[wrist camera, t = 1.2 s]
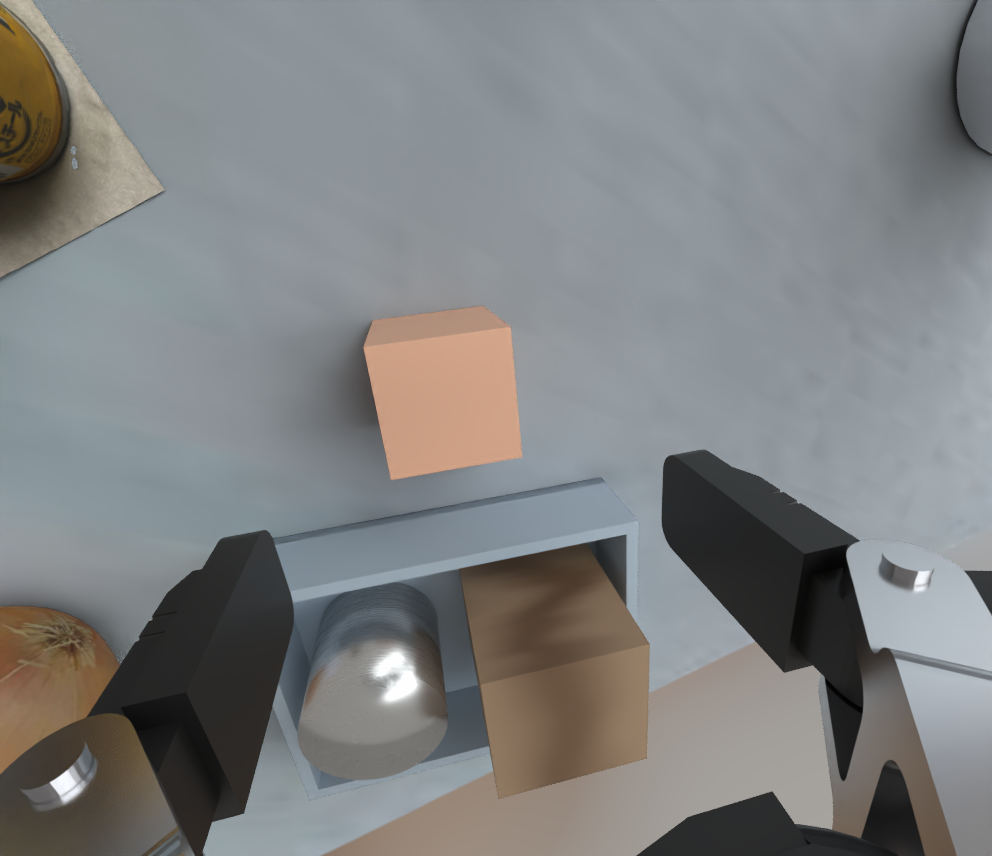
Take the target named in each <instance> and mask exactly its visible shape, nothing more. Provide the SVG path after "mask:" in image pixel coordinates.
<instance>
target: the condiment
mask: <svg viewBox="0 0 992 856" xmlns="http://www.w3.org/2000/svg"><path fill="white" fill-rule="evenodd" d="M74 145H75V147H76V148H77V151H76V155H73V154H72V153H71V152H70V149H71V147H72V146H74ZM73 157H74V158H76V159H77V161H78V168H77V169H73V167H72V159H73ZM162 191H164V188H163V187H162V185H161V184H160V182H159V181H158V179H157V178H156V177H155V175H154V174H153V173H152V172H151V170H150V169H149V167H148V166H147V165H146V163H145V162H144V160H143V159H142V157H141V155H140V154H139V152H138V151H137V150H136V148H135V147H134V145H133V144H132V143H131V142H130V140H129V139H128V138H127V136H126V135H125V134H124V132H123V131H122V129H121V127H120V126H119V125H118V123H117V122H116V121H115V119H114V118H113V116H112V115H111V113H110V112H109V110H108V109H107V108H106V106H105V105H104V104H103V102H102V101H101V99H100V98H99V96H98V94H97V93H96V92H95V90H94V89H93V88H92V86H91V85H90V83H89V82H88V80H87V79H86V77H85V76H84V74H83V73H82V71H81V70H80V68H79V67H78V65H77V64H76V63H75V61H74V60H73V58H72V57H71V55H70V54H69V52H68V51H67V49H66V48H65V47H64V45H63V44H62V42H61V41H60V40H59V38H58V37H57V35H56V34H55V33H54V31H53V30H52V28H51V27H50V26H49V24H48V23H47V21H46V20H45V18H44V17H43V15H42V14H41V13H40V11H39V10H38V8H37V7H36V6H35V4H34V3H33V1H32V0H0V277H2V276H4V275H6V274H8V273H10V272H11V271H14V270H16V269H19V268H21V267H22V266H24V265H26V264H28V263H30V262H32V261H34V260H36V259H38V258H40V257H41V256H43V255H45V254H47V253H48V252H50V251H53V250H55V249H57V248H59V247H61V246H63V245H64V244H66V243H68V242H70V241H72V240H74V239H75V238H77V237H79V236H81V235H83V234H85V233H87V232H88V231H90V230H93V229H94V228H96V227H99V226H100V225H102V224H103V223H105V222H107V221H108V220H110V219H112V218H114V217H116V216H118V215H119V214H121V213H123V212H125V211H127V210H129V209H131V208H133V207H135V206H137V205H138V204H140V203H142V202H143V201H145V200H147V199H149V198H151V197H153V196H154V195H156V194H158V193H160V192H162Z"/></svg>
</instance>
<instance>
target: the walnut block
mask: <svg viewBox="0 0 992 856" xmlns="http://www.w3.org/2000/svg"><path fill="white" fill-rule="evenodd" d="M459 573H460V579H461V585H462V592H463V598H464V604H465V610H466V617H467V623H468V629H469V635H470V641H471V648H472V654H473V660H474V665H475V671H476V676H477V682H478V687H479V693H480V699H481V704H482V710H483V715H484V721H485V726H486V732H487V738H488V743H489V749H490V754H491V760H492V765H493V771H494V776H495V782H496V788H497V793H498V798H499V799H500V798H504V797H507V796H511V795H514V794H518V793H522V792H526V791H529V790H533V789H537V788H540V787H544V786H548V785H551V784H555V783H558V782H562V781H566V780H570V779H573V778H576V777H580V776H584V775H588V774H591V773H595V772H599V771H602V770H606V769H609V768H613V767H617V766H621V765H624V764H628V763H632V762H635V761H639V760H643V759H646V758H647V728H648V689H649V649H650V644H649V642H648V641H647V639H646V638H645V636H644V634H643V633H642V631H641V630H640V628H639V626H638V625H637V623H636V622H635V620H634V618H633V617H632V615H631V614H630V612H629V610H628V609H627V607H626V606H625V604H624V602H623V601H622V599H621V598H620V596H619V594H618V593H617V591H616V590H615V588H614V586H613V585H612V583H611V582H610V580H609V578H608V577H607V575H606V574H605V572H604V570H603V569H602V567H601V566H600V564H599V562H598V561H597V559H596V558H595V556H594V554H593V553H592V551H591V550H590V548H589V546H588V545H587V543H582V544H577V545H572V546H567V547H562V548H557V549H552V550H547V551H543V552H538V553H533V554H528V555H523V556H518V557H513V558H508V559H504V560H499V561H494V562H489V563H484V564H479V565H474V566H469V567H464V568H460V569H459Z"/></svg>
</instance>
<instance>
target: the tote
mask: <svg viewBox="0 0 992 856" xmlns="http://www.w3.org/2000/svg"><path fill="white" fill-rule="evenodd" d="M638 539H639V521H638V520H637V518H636V517H635V516H634V515H633V514H632V513H631V511H630V510H629V509H628V508H627V507H626V506H625V504H624V503H623V502H622V501H621V500H620V499H619V498H618V496H617V495H616V494H615V493H614V492H613V491H612V489H611V488H610V487H609V486H608V485H607V484H606V482H605V481H604V480H603V479H602V478H597V479H591V480H586V481H580V482H575V483H570V484H564V485H559V486H554V487H548V488H543V489H538V490H532V491H527V492H522V493H516V494H511V495H506V496H500V497H495V498H489V499H484V500H479V501H473V502H468V503H463V504H457V505H452V506H447V507H441V508H436V509H431V510H425V511H420V512H414V513H409V514H404V515H398V516H393V517H388V518H382V519H377V520H372V521H366V522H361V523H356V524H350V525H345V526H339V527H334V528H329V529H323V530H318V531H313V532H307V533H302V534H297V535H291V536H286V537H281V538H275V539H273V541H274V544H275V547H276V550H277V553H278V556H279V559H280V562H281V565H282V568H283V571H284V574H285V577H286V580H287V583H288V587H289V590H290V593H291V596H292V600H293V607H294V625H293V630H292V634H291V638H290V642H289V646H288V649H287V653H286V657H285V661H284V664H283V668H282V672H281V676H280V680H279V683H278V687H277V691H276V695H275V698H274V702H273V709H274V711H275V714H276V717H277V719H278V722H279V724H280V727H281V729H282V732H283V734H284V737H285V739H286V742H287V745H288V747H289V750H290V752H291V755H292V757H293V760H294V762H295V765H296V767H297V770H298V772H299V775H300V778H301V780H302V783H303V785H304V788H305V790H306V793H307V795H308V798H309V800H313V799H317V798H321V797H325V796H329V795H332V794H336V793H340V792H344V791H348V790H352V789H355V788H359V787H363V786H367V785H371V784H375V783H379V782H382V781H386V780H390V779H394V778H398V777H402V776H405V775H409V774H413V773H417V772H421V771H425V770H429V769H432V768H436V767H440V766H444V765H448V764H452V763H455V762H459V761H463V760H467V759H471V758H475V757H479V756H482V755H486V754H490V749H489V743H488V738H487V732H486V726H485V721H484V715H483V710H482V704H481V699H480V693H479V687H478V682H477V676H476V671H475V665H474V660H473V654H472V648H471V641H470V635H469V629H468V623H467V617H466V610H465V604H464V598H463V592H462V585H461V579H460V573H459V569H460V568H464V567H469V566H474V565H479V564H484V563H489V562H494V561H499V560H504V559H508V558H513V557H518V556H523V555H528V554H533V553H538V552H543V551H547V550H552V549H557V548H562V547H567V546H572V545H577V544H582V543H587V545H588V546H589V548H590V550H591V551H592V553H593V554H594V556H595V558H596V559H597V561H598V562H599V564H600V566H601V567H602V569H603V570H604V572H605V574H606V575H607V577H608V578H609V580H610V582H611V583H612V585H613V586H614V588H615V590H616V591H617V593H618V594H619V596H620V598H621V599H622V601H623V602H624V604H625V606H626V607H627V609H628V610H629V612H630V614H631V615H632V617H633V618H634V620H635V622H636V623H638ZM391 582H399V583H403V584H407V585H409V586H411V587H414V588H416V589H417V590H419V591H421V592H422V593H423V594H424V595H426V597H427V598H428V599H429V600H430V601H431V603H432V604H433V606H434V608H435V610H436V613H437V617H438V627H439V636H440V646H441V655H442V665H443V675H444V684H445V694H446V703H447V713H448V725H447V729H446V732H445V735H444V737H443V739H442V741H441V742H440V744H439V745H438V747H437V748H436V749H435V750H434V751H433V752H432V753H431V754H430V755H429V756H428V757H427V758H426V759H424V760H423V761H422V762H420V763H419V764H417V765H415V766H414V767H412V768H410V769H408V770H406V771H404V772H401V773H399V774H396V775H392V776H389V777H385V778H380V779H372V780H350V779H343V778H339V777H335V776H332V775H329V774H327V773H325V772H323V771H321V770H319V769H317V768H316V767H315V766H313V765H312V764H311V763H310V762H309V761H308V760H307V759H306V758H305V756H304V755H303V753H302V751H301V749H300V747H299V743H298V736H297V733H298V726H299V721H300V716H301V711H302V706H303V702H304V697H305V692H306V687H307V682H308V677H309V673H310V668H311V663H312V658H313V653H314V649H315V644H316V639H317V634H318V629H319V624H320V621H321V618H322V615H323V613H324V611H325V610H326V608H327V607H328V605H329V604H330V603H331V602H332V601H333V600H334V599H335V598H336V597H338V596H339V595H340V594H342V593H343V592H347V591H352V590H357V589H362V588H367V587H372V586H377V585H382V584H386V583H391Z"/></svg>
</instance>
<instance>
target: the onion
mask: <svg viewBox="0 0 992 856" xmlns="http://www.w3.org/2000/svg"><path fill="white" fill-rule="evenodd" d="M119 666H120V665H119V663H118V661H117V659H116V657H115V655H114V653H113V652H112V650H111V649H110V647H109V646H108V645H107V643H106V642H105V641H104V639H103V638H102V637H101V636H100V635H99V634H98V633H97V632H96V631H95V630H94V629H93V628H91V627H90V626H88V625H87V624H85V623H84V622H82V621H81V620H79V619H77V618H75V617H73V616H71V615H68V614H66V613H63V612H60V611H56V610H53V609H49V608H42V607H30V606H0V774H1V773H2V772H3V771H4V770H5V769H6V768H7V767H8V766H9V765H10V764H11V763H12V762H14V761H15V760H16V759H17V758H18V757H19V756H21V755H22V754H23V753H24V752H25V751H27V750H28V749H29V748H31V747H32V746H33V745H35V744H36V743H38V742H39V741H41V740H42V739H44V738H45V737H47V736H48V735H50V734H52V733H54V732H55V731H57V730H59V729H61V728H63V727H65V726H67V725H69V724H71V723H73V722H76V721H78V720H81V719H84V718H86V717H87V715H88V714H89V712H90V711H91V709H92V708H93V706H94V705H95V703H96V702H97V700H98V699H99V697H100V695H101V694H102V692H103V691H104V689H105V688H106V686H107V685H108V683H109V682H110V680H111V679H112V677H113V676H114V674H115V673H116V671H117V669H118V668H119Z"/></svg>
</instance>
